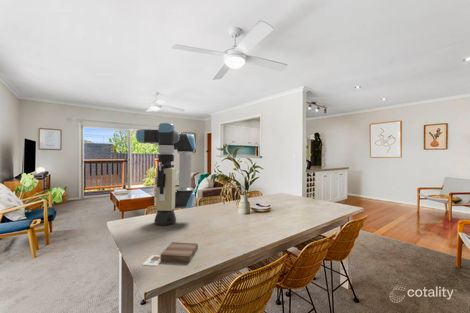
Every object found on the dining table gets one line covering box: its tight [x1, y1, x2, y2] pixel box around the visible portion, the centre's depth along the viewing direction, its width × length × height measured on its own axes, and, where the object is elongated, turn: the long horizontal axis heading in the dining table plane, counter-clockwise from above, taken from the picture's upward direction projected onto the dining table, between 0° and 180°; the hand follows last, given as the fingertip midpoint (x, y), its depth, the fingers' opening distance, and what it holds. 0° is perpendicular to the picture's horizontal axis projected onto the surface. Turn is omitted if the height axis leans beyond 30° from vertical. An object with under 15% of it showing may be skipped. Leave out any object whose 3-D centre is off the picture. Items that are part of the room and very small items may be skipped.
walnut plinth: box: [159, 241, 199, 264], centre depth 106 cm, size 14×14×3 cm
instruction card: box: [141, 254, 162, 267], centre depth 100 cm, size 9×7×1 cm
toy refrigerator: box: [155, 167, 176, 211], centre depth 108 cm, size 8×7×21 cm
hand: (165, 198), depth 108 cm, fingers closed on toy refrigerator, 7 cm apart
